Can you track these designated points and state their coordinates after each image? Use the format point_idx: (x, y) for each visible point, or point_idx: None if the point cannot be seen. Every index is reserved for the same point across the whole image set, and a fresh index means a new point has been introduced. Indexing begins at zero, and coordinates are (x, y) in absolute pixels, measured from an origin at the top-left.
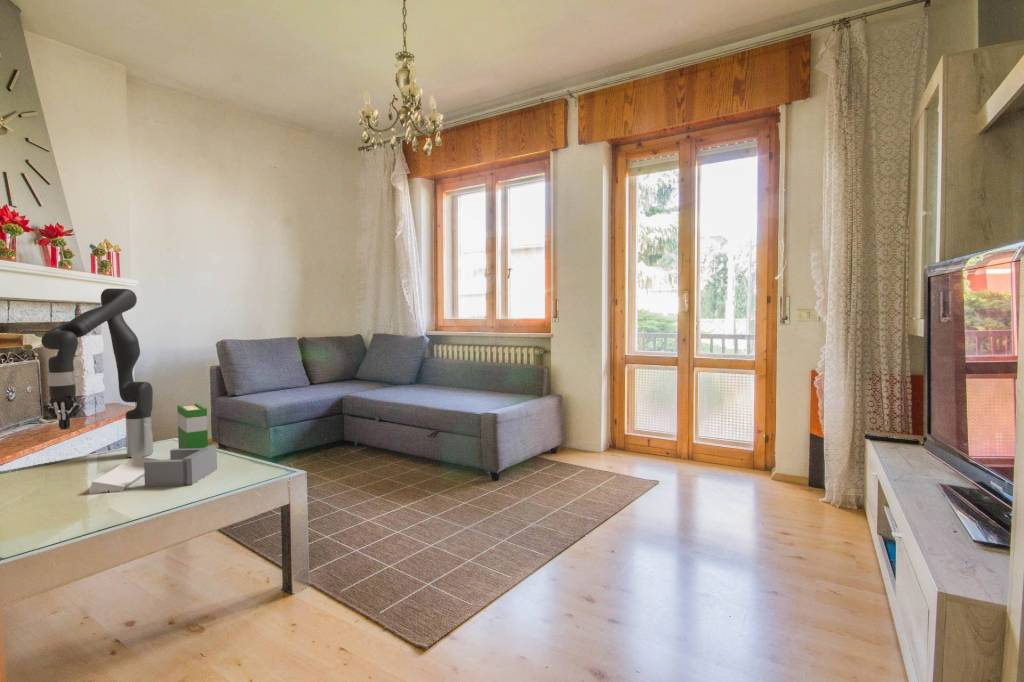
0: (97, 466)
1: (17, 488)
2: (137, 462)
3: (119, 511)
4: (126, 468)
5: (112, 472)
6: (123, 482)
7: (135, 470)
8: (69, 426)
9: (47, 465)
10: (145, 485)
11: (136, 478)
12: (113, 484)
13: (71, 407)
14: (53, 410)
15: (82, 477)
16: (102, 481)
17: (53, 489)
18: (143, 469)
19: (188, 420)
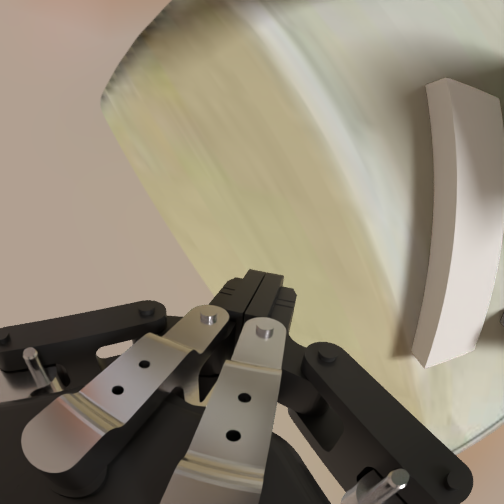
0: (302, 55)
1: (205, 257)
2: (476, 151)
3: (458, 424)
4: (473, 230)
5: (453, 287)
6: (473, 333)
7: (488, 233)
8: (294, 295)
9: (145, 45)
10: (501, 323)
11: (492, 290)
12: (458, 355)
13: (304, 480)
14: (87, 370)
15: (331, 183)
16: (441, 355)
17: (310, 294)
18: (498, 212)
19: None
